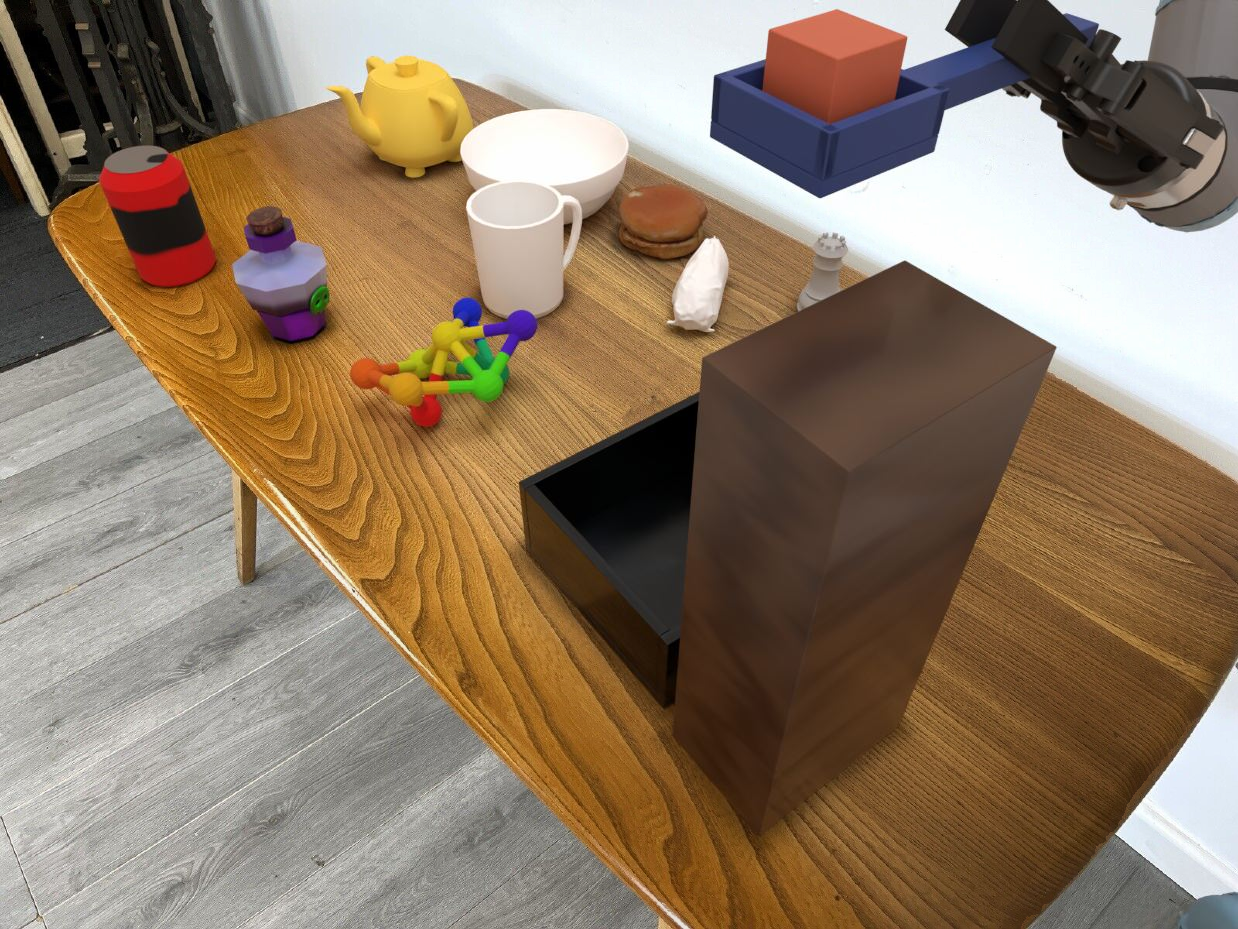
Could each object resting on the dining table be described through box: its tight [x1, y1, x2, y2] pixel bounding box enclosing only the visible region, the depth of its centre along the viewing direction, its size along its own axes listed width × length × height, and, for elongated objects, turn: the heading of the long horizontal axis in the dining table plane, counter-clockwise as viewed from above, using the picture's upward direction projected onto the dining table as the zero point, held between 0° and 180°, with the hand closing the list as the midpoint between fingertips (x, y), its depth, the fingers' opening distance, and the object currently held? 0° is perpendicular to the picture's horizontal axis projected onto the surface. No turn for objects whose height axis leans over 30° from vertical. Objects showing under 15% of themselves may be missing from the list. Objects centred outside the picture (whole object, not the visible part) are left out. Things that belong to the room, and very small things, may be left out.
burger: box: [618, 184, 708, 260], centre depth 98 cm, size 10×9×5 cm
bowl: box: [460, 108, 630, 225], centre depth 102 cm, size 18×18×7 cm
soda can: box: [98, 145, 217, 288], centre depth 91 cm, size 8×8×12 cm
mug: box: [465, 180, 583, 320], centre depth 88 cm, size 11×9×10 cm
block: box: [762, 8, 908, 124], centre depth 39 cm, size 4×4×4 cm
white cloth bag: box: [666, 235, 730, 333], centre depth 89 cm, size 5×7×10 cm
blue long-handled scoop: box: [709, 12, 1100, 199], centre depth 43 cm, size 7×22×3 cm, turn 126°
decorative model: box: [349, 297, 538, 428], centre depth 78 cm, size 13×9×15 cm
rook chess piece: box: [796, 231, 849, 312], centre depth 87 cm, size 4×4×8 cm
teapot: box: [325, 55, 474, 178], centre depth 109 cm, size 14×14×12 cm
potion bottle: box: [231, 205, 331, 345], centre depth 84 cm, size 9×9×12 cm
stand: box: [672, 260, 1058, 837], centre depth 47 cm, size 8×12×30 cm, turn 126°
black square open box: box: [518, 391, 700, 711], centre depth 65 cm, size 17×17×7 cm
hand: (990, 11), depth 43 cm, fingers closed on blue long-handled scoop, 2 cm apart
